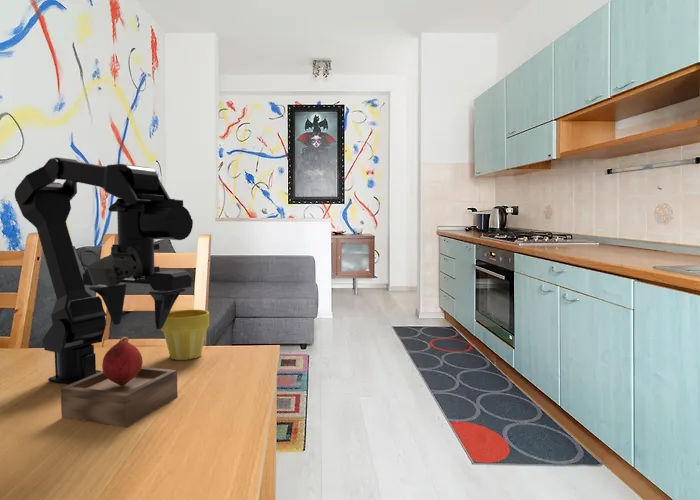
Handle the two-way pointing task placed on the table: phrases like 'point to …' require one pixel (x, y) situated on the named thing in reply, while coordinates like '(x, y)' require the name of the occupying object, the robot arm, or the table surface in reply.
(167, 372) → the walnut base
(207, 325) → the plant pot
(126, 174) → the robot arm
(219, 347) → the table surface
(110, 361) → the onion
